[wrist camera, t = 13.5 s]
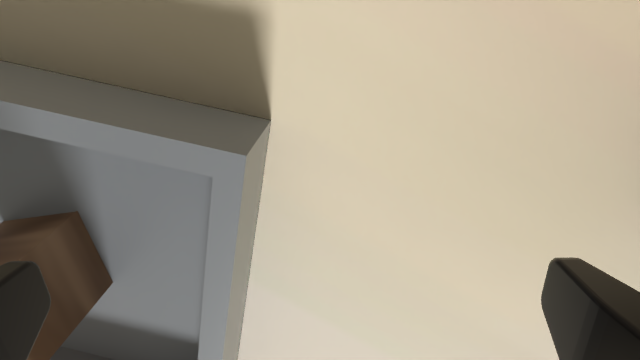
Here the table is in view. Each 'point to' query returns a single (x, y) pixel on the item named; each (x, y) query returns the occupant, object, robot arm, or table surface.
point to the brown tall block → (58, 271)
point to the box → (140, 207)
